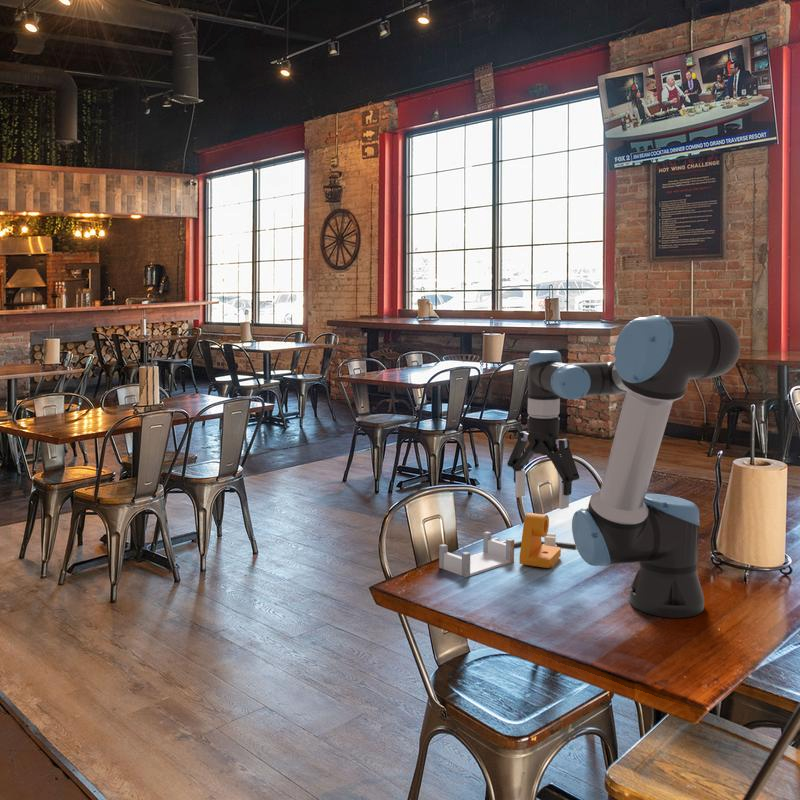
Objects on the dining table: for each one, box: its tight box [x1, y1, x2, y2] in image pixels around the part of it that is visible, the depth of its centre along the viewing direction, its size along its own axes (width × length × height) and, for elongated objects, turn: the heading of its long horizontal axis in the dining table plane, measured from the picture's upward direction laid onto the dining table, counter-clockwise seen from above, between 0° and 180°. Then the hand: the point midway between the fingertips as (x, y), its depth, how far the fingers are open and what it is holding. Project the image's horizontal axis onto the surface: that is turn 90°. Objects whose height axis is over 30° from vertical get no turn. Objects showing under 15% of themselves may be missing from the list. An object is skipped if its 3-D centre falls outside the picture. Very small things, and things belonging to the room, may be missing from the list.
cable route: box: [492, 532, 577, 549], centre depth 216 cm, size 6×23×3 cm, turn 100°
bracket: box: [518, 512, 562, 569], centre depth 204 cm, size 11×7×12 cm, turn 153°
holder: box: [438, 531, 515, 578], centre depth 203 cm, size 9×17×6 cm, turn 131°
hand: (541, 502), depth 203 cm, fingers open, 13 cm apart
